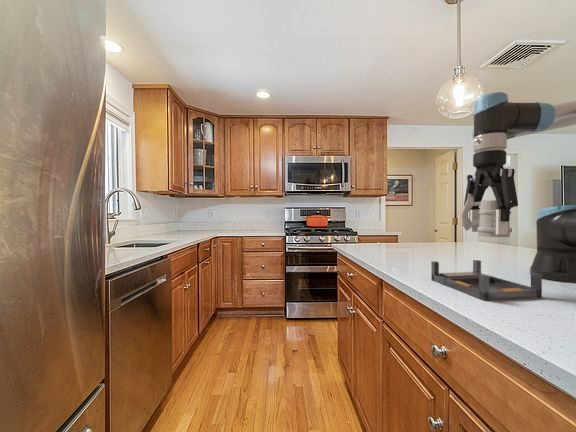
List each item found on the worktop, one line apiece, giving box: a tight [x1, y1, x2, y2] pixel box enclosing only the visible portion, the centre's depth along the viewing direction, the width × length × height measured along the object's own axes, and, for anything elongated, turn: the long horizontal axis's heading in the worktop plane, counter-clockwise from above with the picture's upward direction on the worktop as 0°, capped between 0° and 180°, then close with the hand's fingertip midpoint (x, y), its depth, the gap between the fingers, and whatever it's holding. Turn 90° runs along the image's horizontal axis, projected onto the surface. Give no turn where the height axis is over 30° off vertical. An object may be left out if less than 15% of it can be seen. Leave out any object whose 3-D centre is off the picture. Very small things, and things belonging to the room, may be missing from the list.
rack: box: [430, 259, 543, 302], centre depth 80 cm, size 16×21×6 cm
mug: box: [460, 194, 513, 238], centre depth 79 cm, size 8×12×12 cm, turn 52°
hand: (487, 232), depth 78 cm, fingers closed on mug, 9 cm apart
